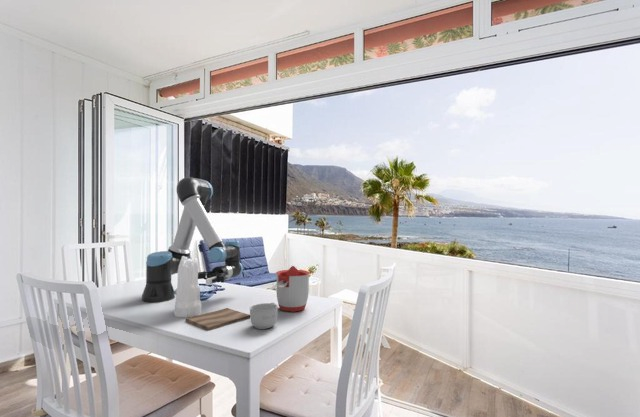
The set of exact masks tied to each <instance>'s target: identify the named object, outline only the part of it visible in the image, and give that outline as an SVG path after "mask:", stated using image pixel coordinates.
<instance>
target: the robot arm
mask: <svg viewBox="0 0 640 417" xmlns="http://www.w3.org/2000/svg"><path fill="white" fill-rule="evenodd" d="M176 195H177V197H178V200H179V202H180V204H181V205H182V206H183V211H182V214H181V217H180V220H179V223H178V226H177V230H176V233H175V236H174V239H173V242H172V245H171V246H168V250H165V251H164V250H163V251H156V252H152V253H149V254H148V255H147V257H146V262H145V263H146V264H145V265H146V270H145V273H146V274H145V278H146V279H145V286H144V289H143V291H142V294H141V301H142V302H146V303H158V302H165V301H169V300H173V299H174V298H176V291H175V290H174V286H173V284H172V275H175V274H178V267H179V264H180V261H181V258H182V256H185V257H187V258H190V259H191V260H192V256H191V249H190V246H191V242H192V240H193V236H194V233H195V230H196V229H197V230H198V232H199V233H200V235H201V237H202V239H203V241H204V242H205V244H206V246H207V248H208V250H209V251H208V259H209V260H210V261H211V262H212V263H222V262H224V264H222V265H219V266H215V267H213V268H212V270H208V271H205V270H204V271H198V280H205V286H210V285H214V284H216V283H220V282H221V284H222V283H224V282H225V281H227V280H229V279H232V278H236V277H238V276H240V275H241V274H242V273H243V272H244V266H243V263H241V261H240V259H241V258H240V254H241V252H240V251H241V247H240V246H241V245H240V241H239V240H225V243H224V241H223V240H222V237H221V236H220V234H219V232H218V231H217V229H216V226H215V225H214V223H213V221H212V219H211V218H210V216H209V214H208V212H207V210H206V209H205V206H206V204H207V201H209V200H210V199H211V198H212V196H213V195H214V188H213V186H212V184H211V183H210V181H207V180H205V179H203V178H202V179H201V178H197V177H192V176H187V177H184V178H181V179H180V180H179V181H178V183H177V185H176ZM192 261H193V260H192Z"/></svg>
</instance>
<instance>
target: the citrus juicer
mask: <svg viewBox="0 0 640 417" xmlns="http://www.w3.org/2000/svg"><path fill="white" fill-rule="evenodd" d="M275 273H276V289H275V290H276V300H277V304H278V305H277V306H278V307H279V309H280V310H281V311H285V312H292V313H296V312H301V311H303V310H305V309H306V306H307V302H308V300H309V291H310V287H309V286H310V271H307V270H303V269H297V267H295V265H291V266H290V267H289V268H288V269H285V270H284V269H282V270H278V271H276V272H275Z"/></svg>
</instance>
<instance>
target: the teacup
mask: <svg viewBox="0 0 640 417" xmlns="http://www.w3.org/2000/svg"><path fill="white" fill-rule="evenodd" d="M249 315H250V318H249V319H250V323H251V325H252V326H253V327H255V328H256V329H259V330H265V329H270V328H272V327H274V325H275V324H276V323H277V322H278V305H277V303H276V304H275V302H270V303H269V302H268V303H267V302H265V303H259V304H258V303H257V304H253V305H251V306H250V307H249Z"/></svg>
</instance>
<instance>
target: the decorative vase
mask: <svg viewBox="0 0 640 417" xmlns="http://www.w3.org/2000/svg"><path fill="white" fill-rule="evenodd" d="M198 272H199V261H198V257H194V260H191V259H190V258H187V257H185V256H182V258H181V261H180V264H179V267H178V273H177V287H176V290H175V304H174V312H173V313H174V317H175V318H176V317H177V318H185V319H186V318H189V317H193V316H197V315H201V313H202V301H201V298H200V297H201V287H200V285H199V279H198Z"/></svg>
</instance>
